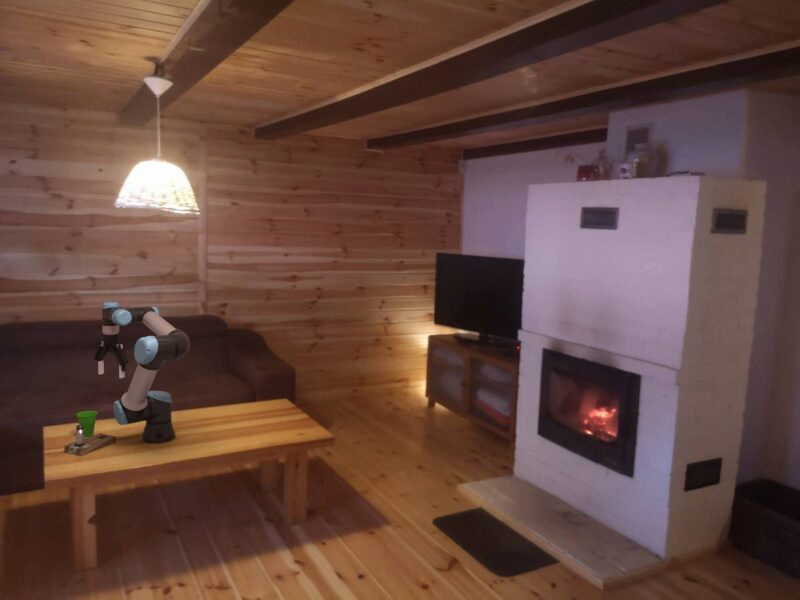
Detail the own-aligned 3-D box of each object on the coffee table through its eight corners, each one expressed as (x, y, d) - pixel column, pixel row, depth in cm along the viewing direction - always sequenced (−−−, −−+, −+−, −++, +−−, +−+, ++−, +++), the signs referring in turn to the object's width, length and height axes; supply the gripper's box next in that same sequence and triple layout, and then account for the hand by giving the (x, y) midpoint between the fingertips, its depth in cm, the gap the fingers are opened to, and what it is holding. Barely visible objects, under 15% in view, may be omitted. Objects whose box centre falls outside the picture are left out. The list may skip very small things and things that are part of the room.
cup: (89, 439, 303) (88, 417, 302) (72, 437, 305) (72, 415, 303) (101, 433, 312) (101, 412, 310) (85, 431, 314) (85, 410, 312)
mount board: (116, 442, 301) (116, 436, 300) (80, 456, 282) (80, 449, 282) (100, 439, 304) (100, 432, 304) (64, 452, 286) (64, 445, 285)
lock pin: (85, 450, 289) (85, 425, 287) (79, 452, 286) (79, 427, 284) (80, 449, 290) (80, 424, 288) (75, 451, 287) (74, 426, 285)
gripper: (136, 335, 307) (136, 377, 310) (98, 329, 317) (98, 371, 319) (124, 337, 300) (124, 380, 303) (85, 331, 310) (86, 374, 312)
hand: (111, 375), depth 311 cm, fingers open, 13 cm apart
